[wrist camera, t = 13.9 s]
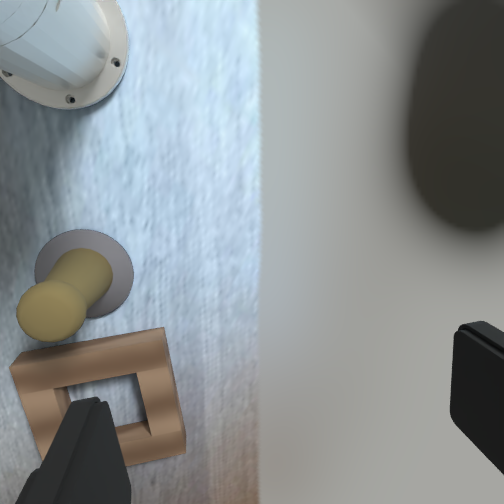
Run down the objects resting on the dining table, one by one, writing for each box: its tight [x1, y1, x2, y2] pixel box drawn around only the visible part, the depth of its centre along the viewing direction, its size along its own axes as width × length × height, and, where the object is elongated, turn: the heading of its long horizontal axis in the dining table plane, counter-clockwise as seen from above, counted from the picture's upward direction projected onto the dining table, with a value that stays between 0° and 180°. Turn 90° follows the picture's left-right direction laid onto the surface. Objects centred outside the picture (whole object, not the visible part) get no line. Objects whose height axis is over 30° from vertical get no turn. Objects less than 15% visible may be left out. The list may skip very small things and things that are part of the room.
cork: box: [16, 248, 113, 342], centre depth 34 cm, size 6×6×11 cm
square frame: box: [9, 327, 186, 466], centre depth 43 cm, size 16×16×3 cm
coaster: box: [35, 229, 134, 318], centre depth 39 cm, size 10×10×1 cm
